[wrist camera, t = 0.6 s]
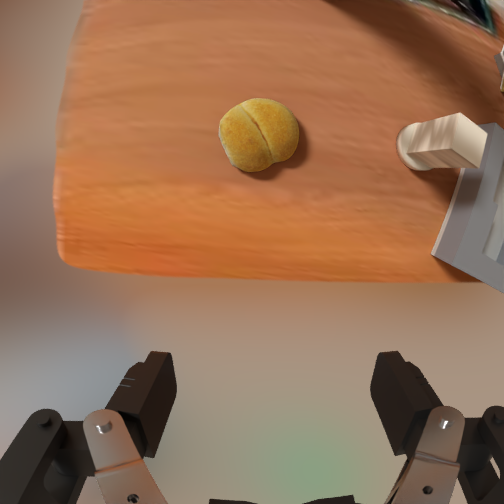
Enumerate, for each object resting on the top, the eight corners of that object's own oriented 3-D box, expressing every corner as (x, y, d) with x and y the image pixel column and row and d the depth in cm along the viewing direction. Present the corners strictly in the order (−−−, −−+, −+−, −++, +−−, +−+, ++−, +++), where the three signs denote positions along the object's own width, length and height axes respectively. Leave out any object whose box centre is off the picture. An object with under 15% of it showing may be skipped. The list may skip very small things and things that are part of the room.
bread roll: (308, 150, 35) (314, 147, 31) (239, 180, 36) (236, 181, 32) (278, 89, 33) (280, 79, 29) (210, 119, 34) (204, 113, 30)
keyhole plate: (472, 125, 32) (495, 122, 27) (524, 171, 33) (546, 173, 28) (430, 254, 37) (451, 265, 31) (488, 284, 38) (508, 296, 32)
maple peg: (403, 116, 33) (454, 98, 21) (439, 138, 33) (495, 130, 21) (390, 157, 34) (440, 152, 22) (426, 178, 34) (482, 182, 23)
